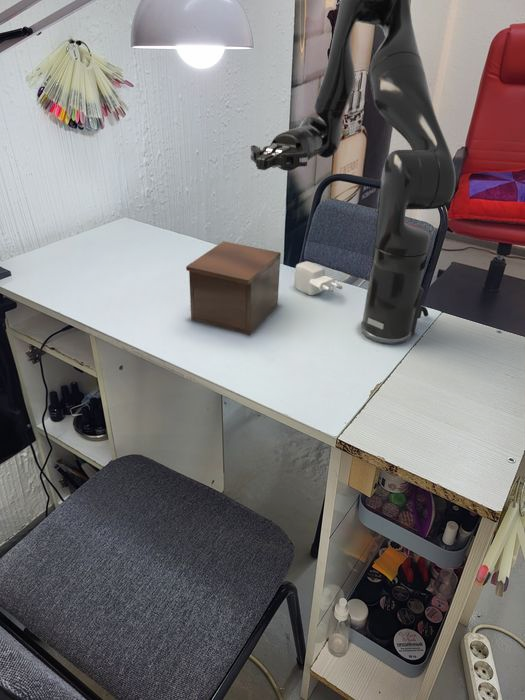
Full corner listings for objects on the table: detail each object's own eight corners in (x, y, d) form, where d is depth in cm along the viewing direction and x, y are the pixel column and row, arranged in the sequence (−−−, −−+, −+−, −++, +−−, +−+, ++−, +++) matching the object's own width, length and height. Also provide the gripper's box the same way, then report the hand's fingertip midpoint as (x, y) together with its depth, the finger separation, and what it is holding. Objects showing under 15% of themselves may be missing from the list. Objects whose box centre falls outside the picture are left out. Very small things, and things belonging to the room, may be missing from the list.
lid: (248, 284, 91) (248, 280, 90) (186, 270, 95) (186, 266, 94) (280, 256, 102) (280, 252, 102) (223, 244, 106) (223, 241, 106)
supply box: (249, 335, 97) (251, 282, 91) (191, 320, 101) (188, 268, 96) (277, 305, 108) (280, 256, 102) (223, 292, 112) (223, 245, 106)
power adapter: (343, 301, 111) (346, 275, 107) (327, 307, 108) (330, 281, 105) (306, 283, 118) (308, 258, 115) (290, 288, 115) (292, 263, 112)
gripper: (266, 126, 112) (229, 139, 98) (324, 133, 107) (295, 147, 94) (264, 162, 116) (229, 179, 102) (321, 170, 111) (292, 189, 98)
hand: (260, 164), depth 98 cm, fingers closed
